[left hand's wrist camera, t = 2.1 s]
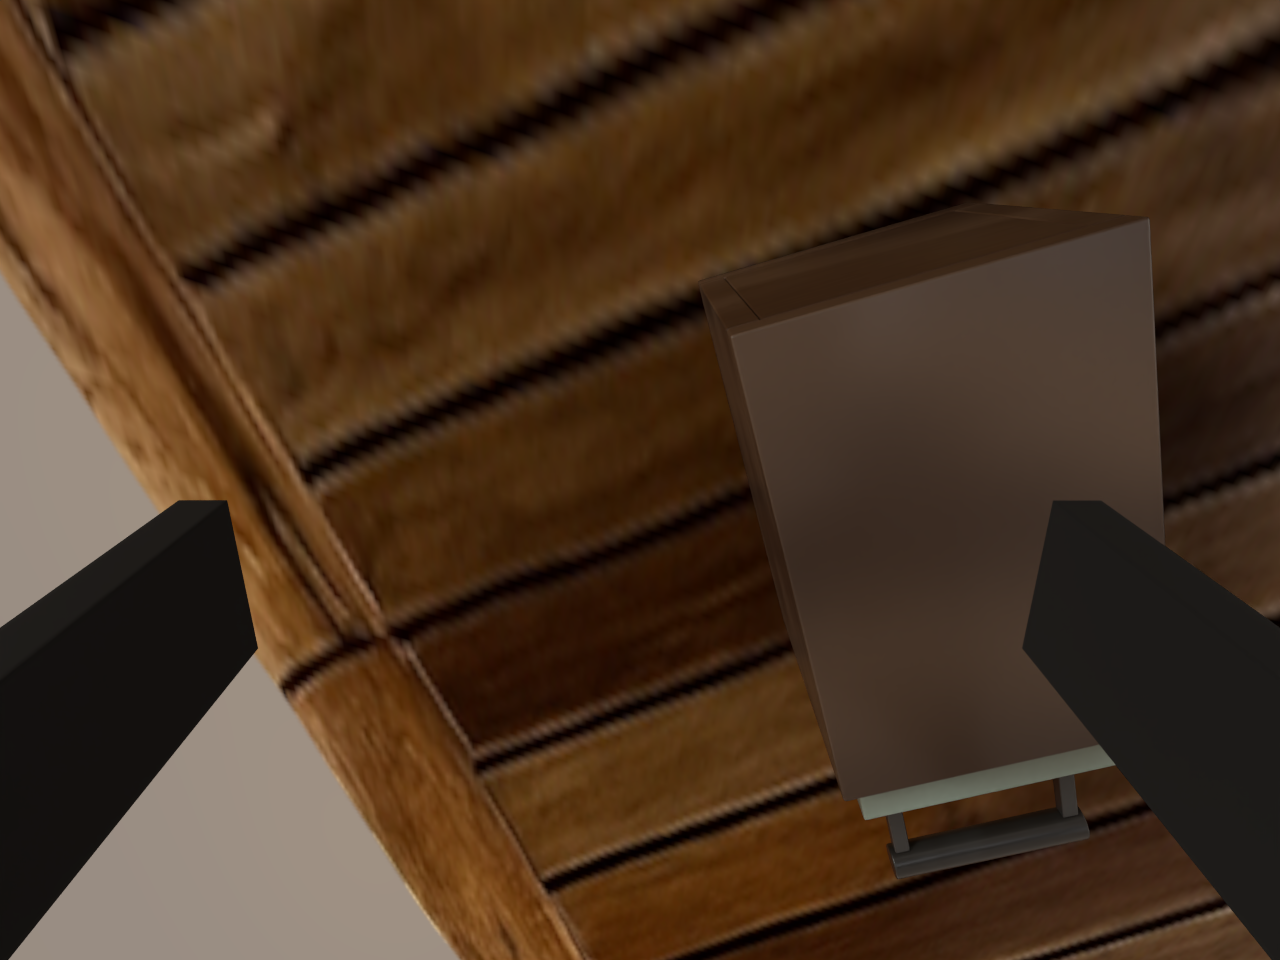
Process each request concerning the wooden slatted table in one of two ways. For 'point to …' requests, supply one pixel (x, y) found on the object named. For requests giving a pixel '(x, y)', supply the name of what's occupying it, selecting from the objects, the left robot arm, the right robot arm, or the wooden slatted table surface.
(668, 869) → the wooden slatted table surface
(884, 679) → the cabinet
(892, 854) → the drawer
